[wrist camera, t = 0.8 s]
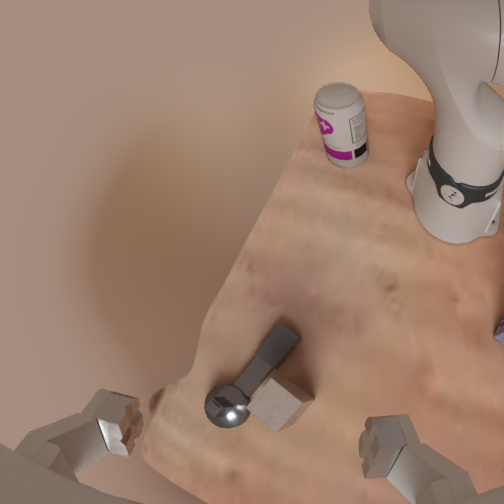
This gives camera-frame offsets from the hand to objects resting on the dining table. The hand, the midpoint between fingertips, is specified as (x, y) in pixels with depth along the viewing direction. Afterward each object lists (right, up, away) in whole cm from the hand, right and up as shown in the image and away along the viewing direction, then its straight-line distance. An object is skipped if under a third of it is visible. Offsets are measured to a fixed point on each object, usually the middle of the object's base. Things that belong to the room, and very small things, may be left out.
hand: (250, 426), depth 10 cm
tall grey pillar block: (+6, -16, +34) cm, 38 cm away
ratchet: (0, -14, +37) cm, 40 cm away
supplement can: (+18, +25, +48) cm, 57 cm away
